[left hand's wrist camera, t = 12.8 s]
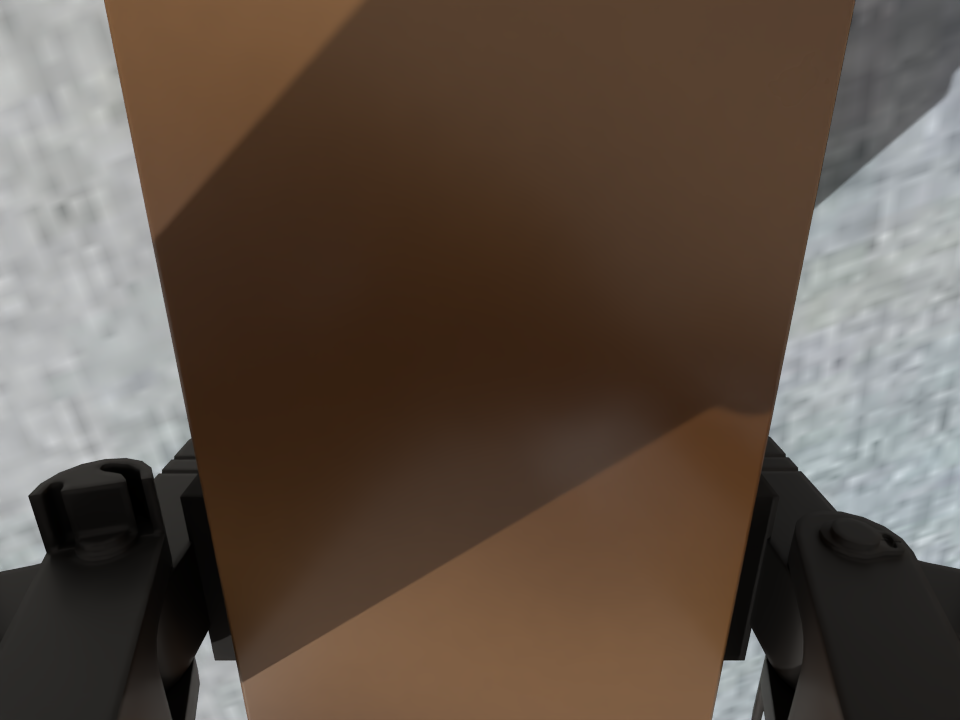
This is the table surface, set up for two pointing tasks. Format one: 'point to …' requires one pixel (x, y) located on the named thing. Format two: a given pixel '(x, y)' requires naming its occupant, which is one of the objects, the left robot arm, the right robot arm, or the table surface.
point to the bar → (479, 331)
